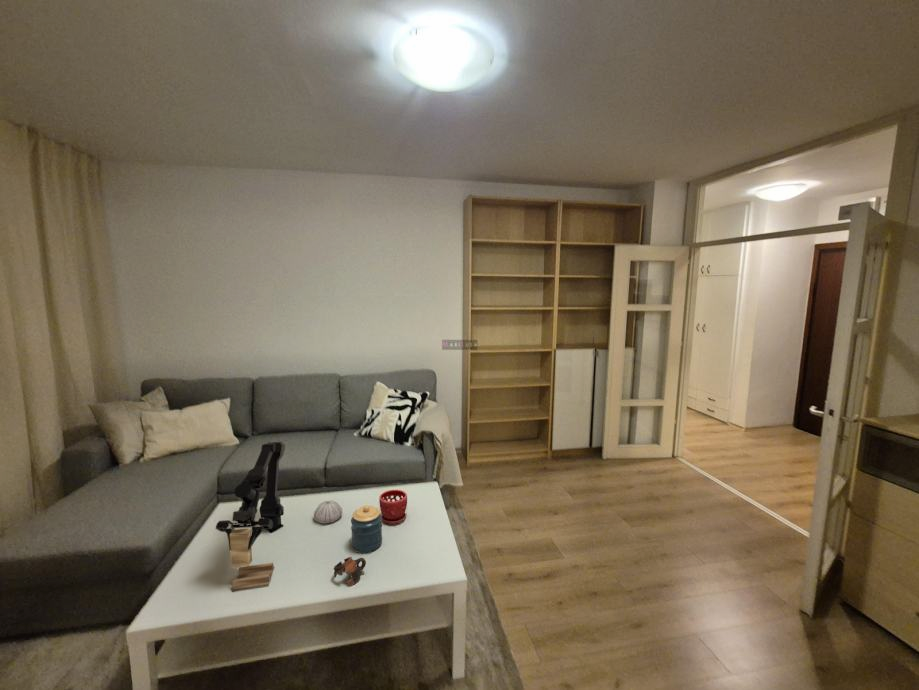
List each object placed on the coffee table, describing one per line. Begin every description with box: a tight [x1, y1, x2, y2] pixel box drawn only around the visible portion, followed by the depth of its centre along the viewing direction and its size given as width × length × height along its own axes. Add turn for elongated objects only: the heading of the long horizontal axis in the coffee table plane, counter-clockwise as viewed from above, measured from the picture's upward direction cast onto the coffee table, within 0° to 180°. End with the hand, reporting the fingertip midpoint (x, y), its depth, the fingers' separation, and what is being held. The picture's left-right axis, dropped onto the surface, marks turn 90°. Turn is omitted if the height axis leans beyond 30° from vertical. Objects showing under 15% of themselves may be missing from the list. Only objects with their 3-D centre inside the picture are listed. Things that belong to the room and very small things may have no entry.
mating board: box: [232, 562, 275, 593], centre depth 149 cm, size 10×12×3 cm
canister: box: [350, 504, 383, 554], centre depth 170 cm, size 13×13×18 cm
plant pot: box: [378, 489, 408, 525], centre depth 189 cm, size 13×13×12 cm
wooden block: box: [230, 528, 253, 568], centre depth 146 cm, size 3×6×13 cm, turn 98°
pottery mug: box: [333, 556, 367, 587], centre depth 151 cm, size 12×10×8 cm
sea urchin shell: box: [312, 500, 343, 524], centre depth 190 cm, size 13×14×8 cm
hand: (239, 549), depth 145 cm, fingers closed on wooden block, 6 cm apart
